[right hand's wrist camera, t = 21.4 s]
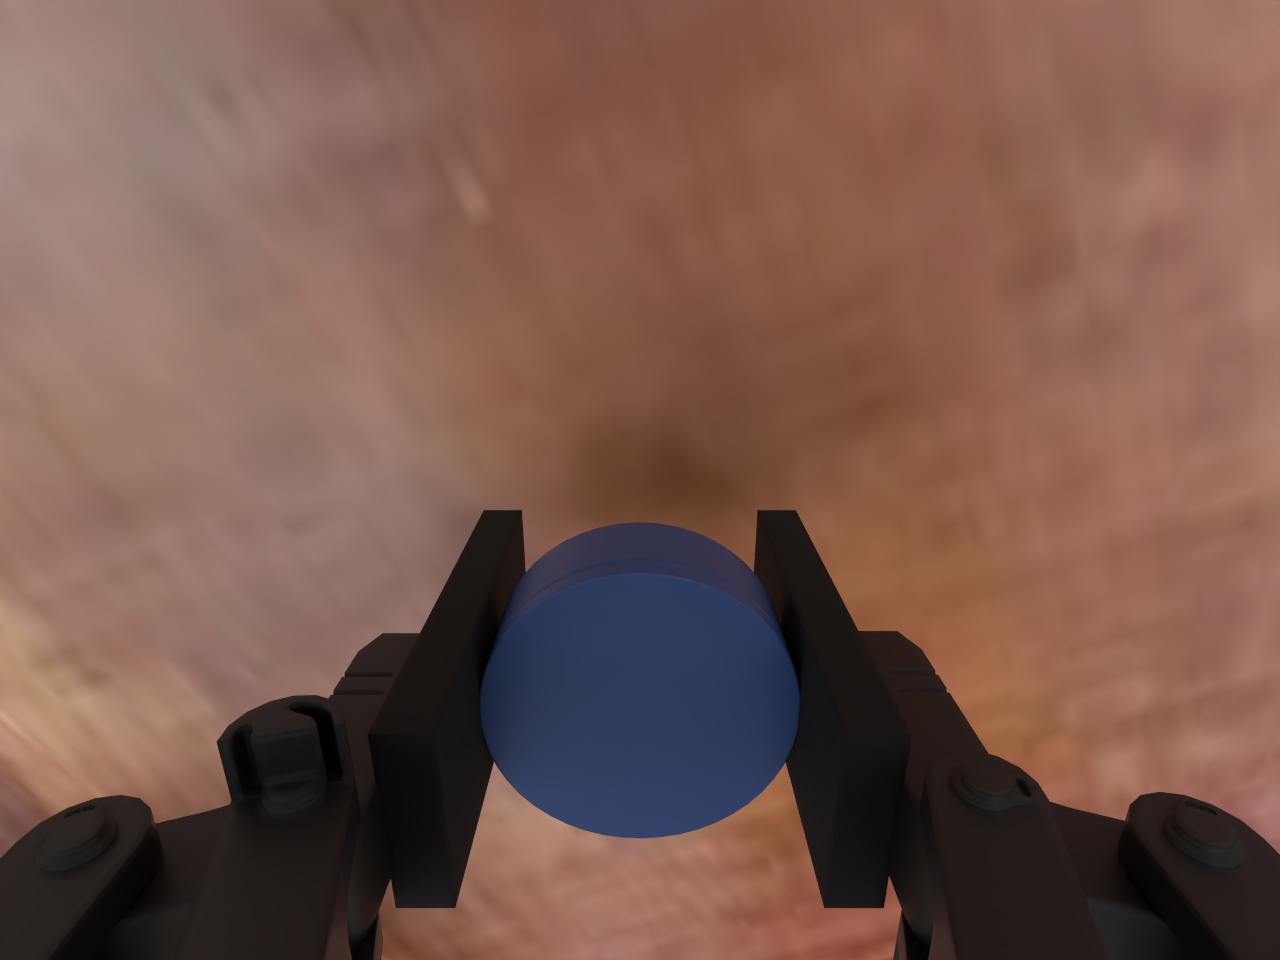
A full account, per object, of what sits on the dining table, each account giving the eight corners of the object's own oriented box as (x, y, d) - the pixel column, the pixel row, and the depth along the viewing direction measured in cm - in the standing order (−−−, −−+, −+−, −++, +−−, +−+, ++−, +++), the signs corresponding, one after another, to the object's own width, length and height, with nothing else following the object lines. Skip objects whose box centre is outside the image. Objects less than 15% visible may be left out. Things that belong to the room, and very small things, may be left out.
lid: (666, 463, 11) (671, 507, 9) (833, 668, 12) (863, 739, 11) (441, 627, 12) (410, 693, 10) (617, 800, 13) (614, 884, 12)
